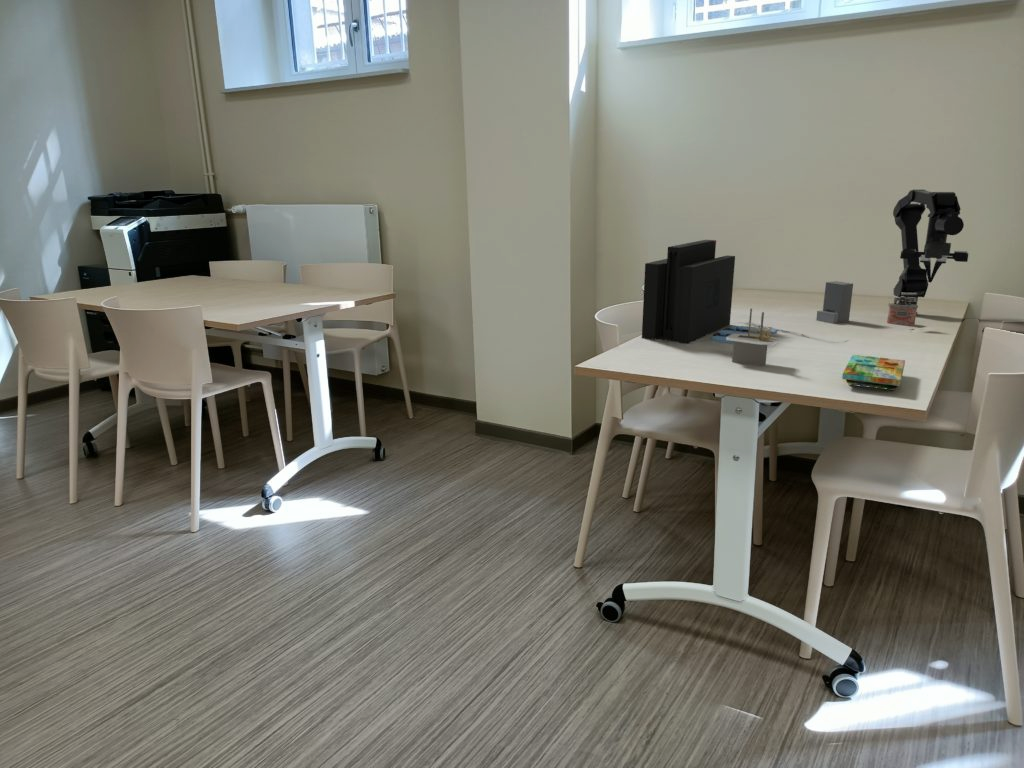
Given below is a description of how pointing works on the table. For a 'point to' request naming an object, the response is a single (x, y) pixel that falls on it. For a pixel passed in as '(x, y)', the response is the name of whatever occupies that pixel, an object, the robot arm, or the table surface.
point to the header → (827, 317)
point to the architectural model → (751, 345)
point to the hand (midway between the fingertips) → (929, 282)
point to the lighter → (902, 311)
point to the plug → (838, 299)
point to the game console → (690, 295)
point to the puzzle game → (874, 371)
